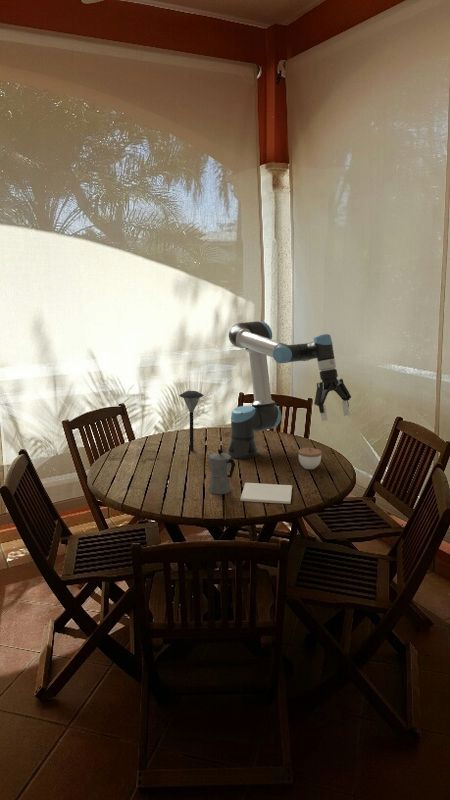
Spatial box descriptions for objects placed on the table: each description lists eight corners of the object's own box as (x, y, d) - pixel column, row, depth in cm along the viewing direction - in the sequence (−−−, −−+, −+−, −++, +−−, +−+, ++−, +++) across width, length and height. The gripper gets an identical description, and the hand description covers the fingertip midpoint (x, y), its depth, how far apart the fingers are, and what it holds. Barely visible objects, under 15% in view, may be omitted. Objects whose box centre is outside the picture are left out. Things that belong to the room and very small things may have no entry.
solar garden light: (203, 454, 307) (203, 394, 301) (178, 453, 307) (178, 394, 301) (204, 446, 319) (204, 389, 313) (180, 446, 319) (179, 389, 313)
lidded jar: (320, 471, 284) (321, 452, 282) (296, 469, 286) (297, 450, 284) (321, 464, 294) (322, 445, 292) (298, 462, 296) (299, 443, 294)
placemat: (245, 484, 267) (245, 482, 266) (292, 487, 264) (292, 485, 264) (240, 500, 249) (240, 498, 249) (290, 503, 247) (290, 501, 246)
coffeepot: (200, 489, 261) (200, 448, 257) (217, 483, 268) (217, 443, 264) (225, 499, 251) (226, 456, 246) (242, 493, 257) (243, 451, 253)
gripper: (312, 372, 261) (321, 421, 261) (353, 365, 276) (361, 412, 276) (301, 374, 267) (309, 422, 268) (341, 367, 282) (349, 413, 282)
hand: (336, 417), depth 272 cm, fingers open, 13 cm apart
